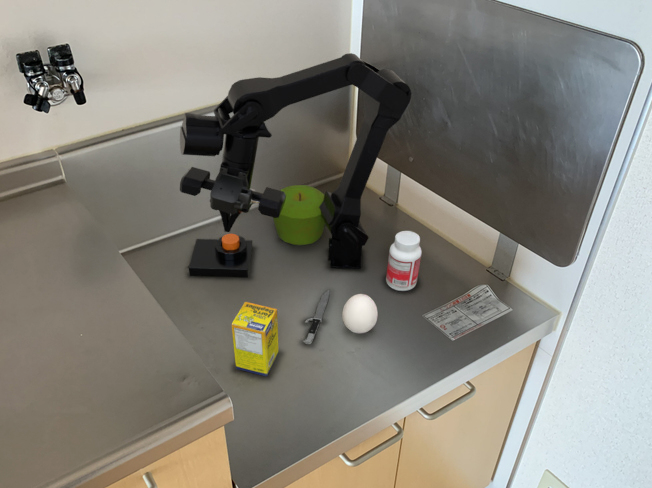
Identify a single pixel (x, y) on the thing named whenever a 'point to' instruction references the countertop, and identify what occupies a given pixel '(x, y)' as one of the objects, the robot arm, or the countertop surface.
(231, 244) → the button
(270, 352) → the supplement box
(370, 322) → the egg
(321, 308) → the knife
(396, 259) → the pill bottle
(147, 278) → the countertop surface
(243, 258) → the black button base
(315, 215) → the apple
